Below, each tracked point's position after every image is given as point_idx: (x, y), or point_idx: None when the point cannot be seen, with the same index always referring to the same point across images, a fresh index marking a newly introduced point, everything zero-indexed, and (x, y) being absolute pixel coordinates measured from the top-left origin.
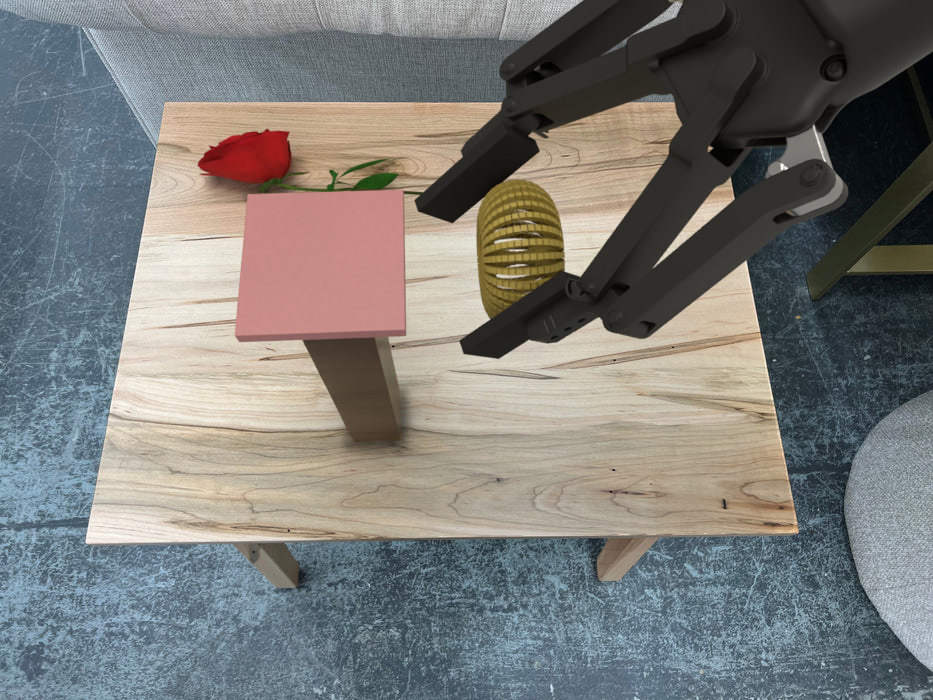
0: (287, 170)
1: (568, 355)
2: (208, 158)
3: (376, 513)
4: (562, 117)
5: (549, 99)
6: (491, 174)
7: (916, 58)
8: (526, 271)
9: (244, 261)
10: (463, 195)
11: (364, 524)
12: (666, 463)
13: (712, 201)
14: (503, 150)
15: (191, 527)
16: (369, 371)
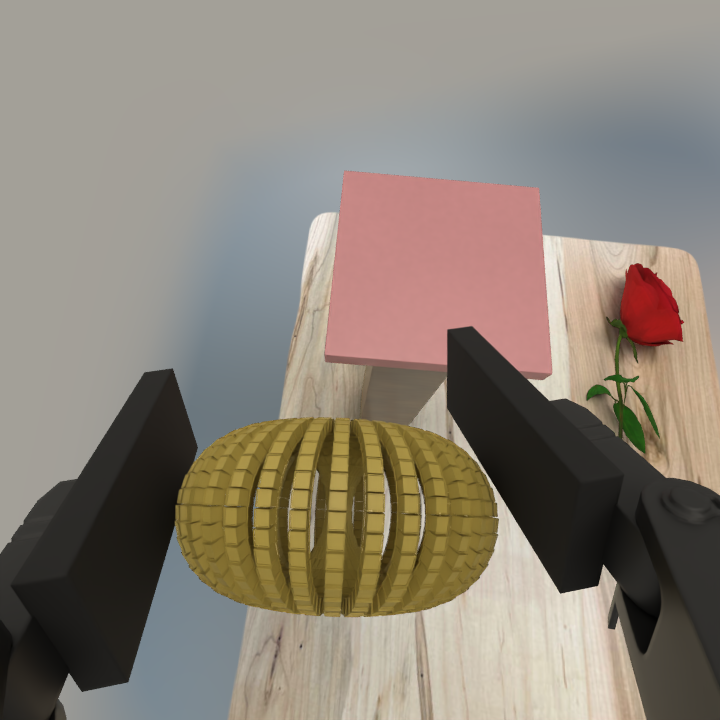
0: (637, 342)
1: (430, 618)
2: (641, 270)
3: (297, 404)
4: (658, 694)
5: (717, 654)
6: (505, 462)
7: None
8: (209, 495)
9: (441, 182)
10: (472, 409)
11: (289, 394)
12: (298, 714)
13: None
14: (545, 481)
15: (309, 269)
16: (369, 371)
